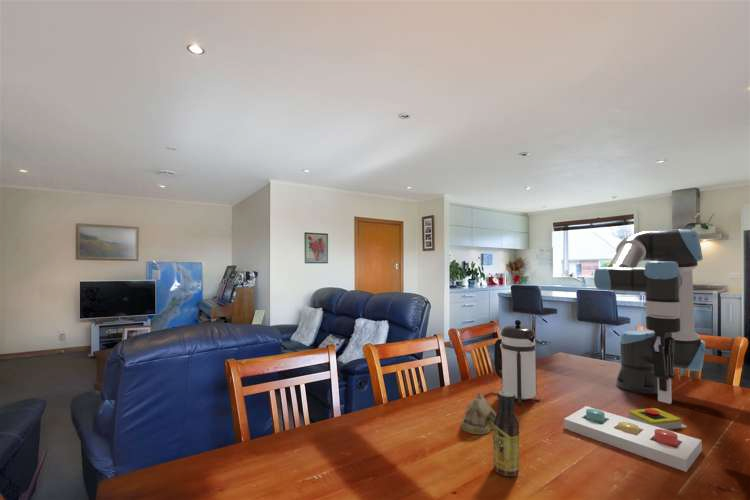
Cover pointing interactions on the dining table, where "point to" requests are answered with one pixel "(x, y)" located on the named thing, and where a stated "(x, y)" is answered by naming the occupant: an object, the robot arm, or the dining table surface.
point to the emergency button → (656, 418)
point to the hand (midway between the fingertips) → (664, 401)
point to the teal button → (595, 416)
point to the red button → (666, 438)
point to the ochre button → (628, 428)
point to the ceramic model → (478, 416)
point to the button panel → (636, 439)
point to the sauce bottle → (506, 436)
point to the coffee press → (517, 361)
